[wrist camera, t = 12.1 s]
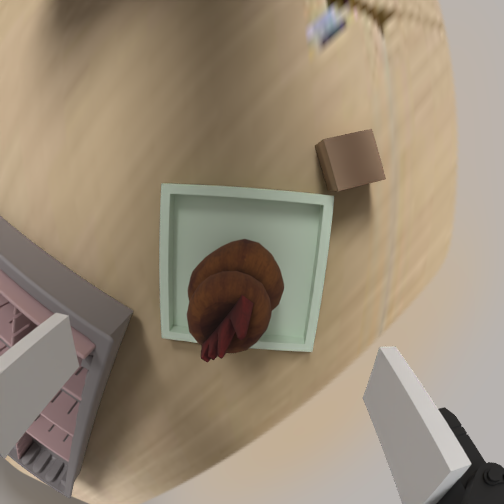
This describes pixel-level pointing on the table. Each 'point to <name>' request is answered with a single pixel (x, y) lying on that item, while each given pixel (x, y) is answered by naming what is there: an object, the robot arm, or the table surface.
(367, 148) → the walnut cube
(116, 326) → the organizer tray
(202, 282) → the wooden figurine
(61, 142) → the table surface
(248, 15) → the table surface
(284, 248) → the green tray
